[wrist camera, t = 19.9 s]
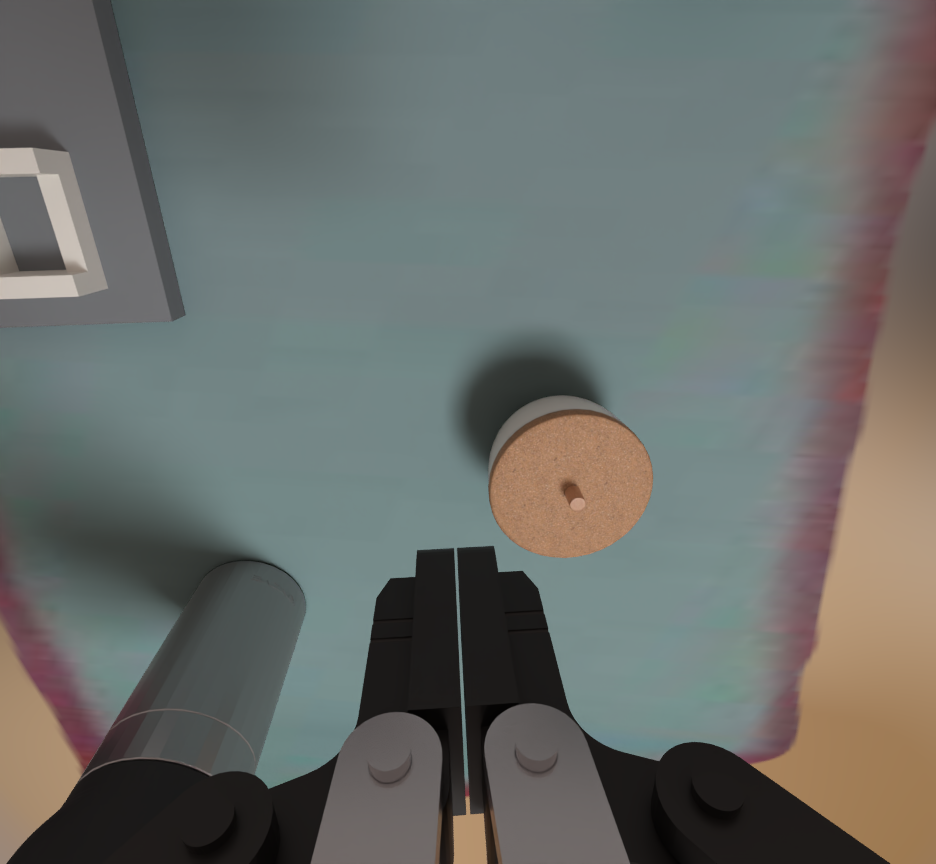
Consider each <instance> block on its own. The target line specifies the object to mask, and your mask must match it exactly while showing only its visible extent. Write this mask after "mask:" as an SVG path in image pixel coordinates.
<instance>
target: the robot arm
mask: <svg viewBox="0 0 936 864" xmlns="http://www.w3.org/2000/svg"><path fill="white" fill-rule="evenodd" d="M457 555H458V579H459V602H460V624H461V644H462V663H463V682H464V701H465V720H466V739H467V758H468V776H469V795H470V813H471V814H479V813H480V814H481V813H484V822H485V836H486V849H487V864H890V863H889V862H887V861H886V860H884V859H883V858H882V857H880V856H879V855H877V854H876V853H874V852H873V851H872V850H870V849H869V848H867V847H866V846H864V845H863V844H862V843H860V842H859V841H857V840H856V839H855V838H853V837H852V836H850V835H849V834H847V833H846V832H845V831H843V830H842V829H841V828H839V827H838V826H836V825H835V824H833V823H832V822H830V821H829V820H828V819H826V818H825V817H823V816H822V815H821V814H819V813H818V812H816V811H815V810H813V809H812V808H811V807H809V806H808V805H807V804H805V803H804V802H802V801H801V800H799V799H798V798H797V797H795V796H794V795H792V794H791V793H789V792H788V791H787V790H785V789H784V788H782V787H781V786H780V785H778V784H777V783H775V782H774V781H772V780H771V779H770V778H768V777H767V776H765V775H764V774H762V773H761V772H760V771H758V770H757V769H755V768H754V767H752V766H751V765H750V764H748V763H747V762H746V761H744V760H743V759H741V758H740V757H738V756H736V755H735V754H733V753H732V752H730V751H727V750H725V749H723V748H721V747H718V746H715V745H712V744H707V743H701V742H689V743H683V744H680V745H677V746H675V747H673V748H671V749H669V750H668V751H667V752H666V753H665V754H664V755H663V757H662V758H661V760H660V761H656V760H652V759H648V758H644V757H640V756H636V755H632V754H628V753H624V752H621V751H617V750H614V749H612V748H609V747H607V746H605V745H603V744H601V743H600V742H598V741H597V740H595V739H593V738H592V737H591V736H590V735H589V734H587V733H586V732H585V731H584V730H583V729H582V728H581V727H580V726H579V724H578V723H577V722H576V720H575V719H574V717H573V715H572V713H571V712H570V709H569V706H568V704H567V700H566V696H565V692H564V688H563V684H562V680H561V677H560V673H559V669H558V665H557V661H556V657H555V653H554V649H553V645H552V641H551V637H550V634H549V632H548V626H547V622H546V618H545V614H544V612H543V606H542V602H541V598H540V594H539V591H538V588H537V587H536V586H535V585H534V583H533V582H532V581H531V580H530V579H529V578H528V577H527V575H526V574H525V573H524V572H523V571H513V572H498V568H497V562H496V555H495V549H494V546H485V547H466V548H457ZM305 613H306V602H305V598H304V595H303V593H302V591H301V589H300V587H299V586H298V585H297V583H296V582H295V581H294V580H293V579H292V578H291V577H290V576H288V575H287V574H286V573H284V572H283V571H281V570H279V569H277V568H275V567H273V566H270V565H267V564H264V563H260V562H254V561H236V562H231V563H226V564H224V565H221V566H219V567H216V568H215V569H213V570H212V571H211V572H209V573H208V574H207V575H206V576H205V577H204V578H203V579H202V581H201V582H200V584H199V586H198V587H197V589H196V591H195V592H194V594H193V595H192V597H191V599H190V600H189V602H188V604H187V605H186V607H185V608H184V610H183V612H182V613H181V615H180V616H179V618H178V619H177V621H176V623H175V624H174V626H173V628H172V629H171V631H170V632H169V634H168V636H167V637H166V639H165V641H164V642H163V644H162V645H161V647H160V649H159V650H158V652H157V654H156V655H155V657H154V658H153V660H152V662H151V663H150V665H149V667H148V668H147V670H146V671H145V673H144V675H143V676H142V678H141V680H140V681H139V683H138V684H137V686H136V688H135V689H134V691H133V693H132V694H131V696H130V697H129V699H128V701H127V702H126V704H125V706H124V707H123V709H122V710H121V712H120V714H119V715H118V717H117V719H116V720H115V722H114V723H113V725H112V727H111V728H110V730H109V732H108V733H107V735H106V736H105V739H104V740H103V742H102V743H101V745H100V747H99V748H98V750H97V752H96V753H95V755H94V756H93V758H92V760H91V761H90V763H89V765H88V766H87V768H86V769H85V771H84V773H83V774H82V776H81V778H80V779H79V781H78V783H77V784H76V786H75V787H74V789H73V790H72V792H71V794H70V795H69V797H68V798H67V800H66V802H65V803H64V804H63V806H62V807H61V808H60V810H58V811H57V812H56V813H55V814H54V815H53V816H52V817H50V818H49V819H48V820H47V821H46V822H45V823H44V824H42V825H41V826H40V827H39V828H38V829H37V830H36V831H35V832H33V834H32V835H31V836H30V837H29V838H28V839H27V840H26V841H25V842H24V843H23V844H22V845H21V846H20V848H19V849H18V850H17V851H16V852H15V854H14V855H13V856H12V857H11V858H10V860H9V861H8V862H7V864H453V861H454V839H453V816H458V815H466V802H465V779H464V758H463V736H462V714H461V692H460V670H459V648H458V626H457V605H456V583H455V561H454V548H450V549H432V550H417V559H416V576H415V577H408V578H390V580H389V581H388V583H387V584H386V585H385V587H384V588H383V590H382V591H381V592H380V594H379V595H378V597H377V599H376V605H375V612H374V618H373V625H372V631H371V638H370V640H371V642H370V645H369V651H368V658H367V664H366V671H365V677H364V684H363V690H362V697H361V704H360V710H359V717H358V721H357V725H356V727H355V730H354V731H353V732H352V733H351V734H350V735H349V737H348V738H347V739H346V741H345V742H344V744H343V746H342V748H341V750H340V752H339V753H338V754H337V755H336V756H335V757H334V758H333V759H331V760H330V761H329V762H327V763H326V764H325V765H323V766H321V767H320V768H318V769H317V770H314V771H312V772H310V773H308V774H306V775H303V776H301V777H298V778H295V779H293V780H290V781H288V782H285V783H283V784H280V785H278V786H275V787H272V788H270V789H268V788H267V786H266V785H265V783H264V782H263V781H262V780H261V779H259V778H258V777H257V776H255V775H254V774H255V771H256V768H257V765H258V762H259V758H260V755H261V752H262V749H263V746H264V743H265V740H266V736H267V733H268V730H269V727H270V724H271V721H272V718H273V714H274V711H275V708H276V705H277V702H278V699H279V696H280V692H281V689H282V686H283V683H284V680H285V677H286V673H287V670H288V667H289V664H290V661H291V658H292V655H293V652H294V649H295V645H296V642H297V639H298V636H299V633H300V629H301V626H302V623H303V620H304V616H305Z"/></svg>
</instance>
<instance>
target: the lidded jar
mask: <svg viewBox="0 0 936 864" xmlns="http://www.w3.org/2000/svg"><path fill="white" fill-rule="evenodd" d="M488 480H489V485H488V488H489V501H490V505H491V509H492V513H493V515H494V517H495V520H496V522H497V524H498V525H499V527H500V528H501V530H502V531H503V532H504V533H505V534H506V535H507V536H508V537H509V538H510V539H511V540H512V541H513V542H515V543H516V544H517V545H519V546H520V547H522V548H524V549H526V550H528V551H531V552H534V553H537V554H540V555H544V556H549V557H560V558H568V557H577V556H582V555H587V554H591V553H593V552H596V551H599V550H601V549H603V548H605V547H607V546H609V545H611V544H613V543H614V542H616V541H617V540H619V539H620V538H621V537H623V536H624V535H625V534H626V533H627V532H628V531H630V530H631V528H632V527H633V526H634V525H635V524H636V522H637V521H638V520H639V518H640V517H641V515H642V514H643V512H644V510H645V508H646V506H647V504H648V501H649V499H650V495H651V491H652V484H653V472H652V465H651V461H650V458H649V455H648V453H647V451H646V449H645V447H644V445H643V444H642V443H641V441H640V440H639V439H638V437H637V436H636V435H635V434H634V433H633V432H632V431H631V430H630V429H629V428H628V427H627V426H626V425H625V424H623V423H622V422H621V421H620V420H619V419H618V418H617V417H616V416H615V415H614V414H613V413H611V412H610V411H608V410H607V409H605V408H604V407H602V406H600V405H599V404H596V403H594V402H591V401H589V400H587V399H584V398H580V397H576V396H566V395H559V396H549V397H545V398H541V399H538V400H535V401H533V402H530V403H528V404H527V405H525V406H523V407H521V408H520V409H519V410H517V411H516V412H515V413H514V414H512V415H511V416H510V417H509V419H508V420H507V421H506V422H505V423H504V424H503V426H502V427H501V429H500V430H499V432H498V434H497V436H496V438H495V440H494V443H493V446H492V449H491V452H490V457H489V466H488Z"/></svg>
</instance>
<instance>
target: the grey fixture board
mask: <svg viewBox="0 0 936 864" xmlns="http://www.w3.org/2000/svg"><path fill="white" fill-rule="evenodd" d="M183 316H185V311H184V307H183V303H182V299H181V294H180V290H179V286H178V282H177V278H176V273H175V269H174V265H173V261H172V257H171V252H170V248H169V244H168V240H167V236H166V231H165V227H164V223H163V219H162V215H161V211H160V206H159V202H158V198H157V194H156V190H155V185H154V181H153V177H152V173H151V169H150V164H149V160H148V156H147V152H146V148H145V144H144V139H143V135H142V131H141V127H140V123H139V118H138V114H137V110H136V106H135V102H134V97H133V93H132V89H131V85H130V81H129V77H128V72H127V68H126V64H125V60H124V56H123V51H122V47H121V43H120V39H119V35H118V30H117V26H116V22H115V18H114V14H113V10H112V5H111V1H110V0H0V328H6V327H33V326H60V325H87V324H115V323H142V322H169V321H174V320H176V319H178V318H180V317H183Z"/></svg>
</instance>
